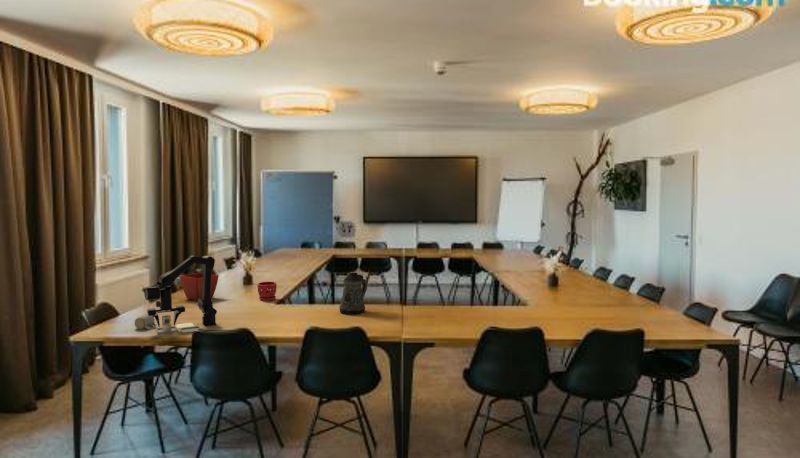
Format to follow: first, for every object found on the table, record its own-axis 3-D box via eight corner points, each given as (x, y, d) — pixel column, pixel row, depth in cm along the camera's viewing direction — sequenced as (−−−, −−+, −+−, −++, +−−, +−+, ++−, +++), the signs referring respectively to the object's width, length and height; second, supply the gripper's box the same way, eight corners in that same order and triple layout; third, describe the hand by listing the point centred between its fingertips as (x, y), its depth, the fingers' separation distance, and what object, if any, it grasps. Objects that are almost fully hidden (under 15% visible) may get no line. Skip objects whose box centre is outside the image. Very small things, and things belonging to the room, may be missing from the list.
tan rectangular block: (170, 329, 299) (169, 315, 298) (171, 330, 296) (170, 316, 295) (162, 330, 297) (161, 315, 296) (163, 331, 293) (163, 317, 293)
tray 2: (199, 328, 304) (198, 325, 304) (202, 332, 295) (202, 330, 295) (179, 330, 298) (179, 328, 298) (182, 334, 290) (182, 332, 290)
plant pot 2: (257, 298, 386) (256, 281, 385) (275, 297, 390) (275, 281, 389) (258, 302, 373) (257, 285, 373) (277, 301, 377) (277, 284, 376)
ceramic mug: (133, 329, 299) (133, 316, 299) (143, 326, 307) (143, 312, 307) (149, 331, 297) (149, 317, 296) (159, 327, 305) (159, 314, 304)
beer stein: (335, 314, 338) (335, 274, 336) (345, 307, 357) (345, 270, 355) (360, 315, 334) (360, 276, 332) (369, 309, 353) (369, 271, 351)
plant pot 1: (219, 297, 388) (219, 274, 387) (197, 302, 372) (196, 278, 370) (202, 294, 398) (201, 272, 397) (179, 299, 382) (179, 275, 381)
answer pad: (191, 323, 313) (191, 322, 313) (194, 327, 306) (194, 326, 306) (175, 325, 309) (175, 324, 309) (177, 329, 301) (177, 328, 301)
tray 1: (175, 328, 303) (175, 326, 303) (178, 332, 295) (178, 330, 295) (155, 330, 298) (155, 328, 298) (158, 334, 289) (157, 332, 289)
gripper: (181, 293, 307) (182, 320, 308) (145, 297, 297) (146, 324, 298) (185, 297, 297) (185, 325, 298) (147, 300, 287) (148, 329, 289)
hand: (166, 325), depth 296 cm, fingers open, 7 cm apart
